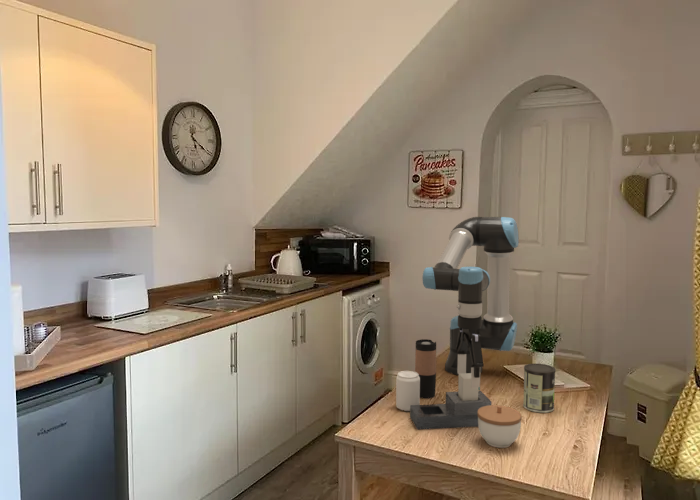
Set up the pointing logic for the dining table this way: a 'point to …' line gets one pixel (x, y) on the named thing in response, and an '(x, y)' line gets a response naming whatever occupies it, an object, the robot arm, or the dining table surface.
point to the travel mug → (426, 367)
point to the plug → (466, 388)
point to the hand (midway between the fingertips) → (468, 380)
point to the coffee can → (539, 388)
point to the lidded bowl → (499, 425)
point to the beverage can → (407, 390)
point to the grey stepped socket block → (448, 412)
